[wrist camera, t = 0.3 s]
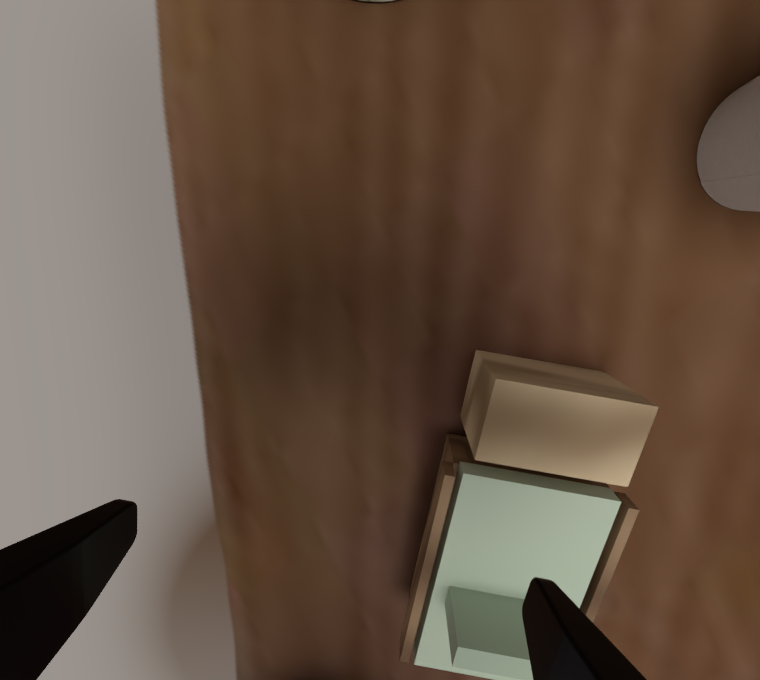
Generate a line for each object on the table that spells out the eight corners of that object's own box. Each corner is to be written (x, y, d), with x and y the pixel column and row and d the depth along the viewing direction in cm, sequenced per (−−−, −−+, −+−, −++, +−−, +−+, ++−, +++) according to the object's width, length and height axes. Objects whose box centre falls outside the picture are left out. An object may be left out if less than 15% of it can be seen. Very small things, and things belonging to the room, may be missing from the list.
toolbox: (537, 617, 24) (564, 691, 20) (400, 592, 25) (399, 661, 21) (594, 459, 21) (639, 510, 17) (436, 431, 21) (444, 475, 17)
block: (580, 436, 21) (627, 486, 17) (459, 414, 21) (474, 459, 17) (602, 370, 20) (659, 407, 16) (475, 349, 20) (495, 378, 16)
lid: (541, 669, 22) (571, 762, 18) (413, 645, 22) (416, 733, 18) (610, 488, 18) (665, 553, 14) (460, 461, 18) (475, 519, 15)
